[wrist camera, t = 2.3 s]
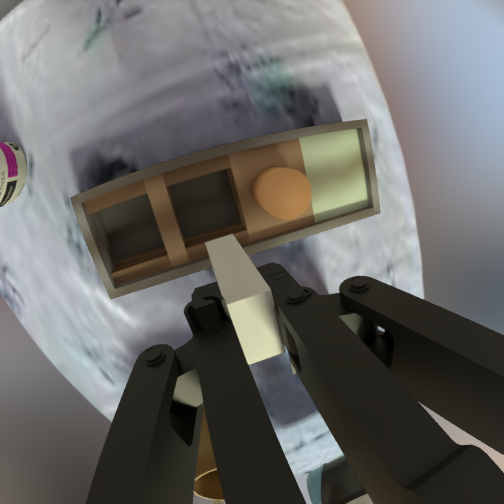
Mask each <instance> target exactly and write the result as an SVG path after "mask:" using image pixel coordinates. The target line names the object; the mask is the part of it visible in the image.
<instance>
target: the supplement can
mask: <svg viewBox="0 0 504 504" xmlns="http://www.w3.org/2000/svg"><path fill="white" fill-rule="evenodd" d="M26 177H27V164H26V160H25V156H24V153H23V152H22V150H21V149H20V147H19V146H17V145H16V144H14V143H13V142H0V207H1V206H4V205H6V204H9V203H12V202H13V201H14V200H15V199H16V198H18V197H19V195H20V193H21V192H22V190H23V188H24V185H25V181H26Z"/></svg>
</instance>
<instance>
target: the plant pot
mask: <svg viewBox="0 0 504 504" xmlns="http://www.w3.org/2000/svg"><path fill="white" fill-rule="evenodd" d="M194 494H196V495H197V496H199V497H202V498H205V499H210V500H223V501H225V500H224V496H223V492H222V488H221V484H220V480H219V476H218V471H217V467H216V463H215V458H214V454H213V449H212V444H211V440H210V435H209V430H208V425H207V420H206V414H205V409H204V408H203V416H202V424H201V432H200V440H199V449H198V457H197V466H196V475H195V485H194Z"/></svg>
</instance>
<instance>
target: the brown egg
mask: <svg viewBox="0 0 504 504" xmlns="http://www.w3.org/2000/svg"><path fill="white" fill-rule="evenodd" d="M252 193H253V197H254V200H255V202H256V203H257V204H258V206H260V207H261V208H262V209H264V210H265V211H267V212H268V213H270V214H271V215H273V216H274V217H276V218H279V219H282V220H290V219H294V218H297V217H298V216H300V215H301V214H303V213H304V212H305V210H306V209H307V208H308V206H309V204H310V201H311V196H312V191H311V185H310V183H309V181H308V179H307V178H306V176H305V175H304V174H302V173H301V172H299V171H298V170H295V169H290V168H283V167H269V168H266V169H264V170H263V171H261V172H260V173H259V174H258V175H257V177H256V178H255V180H254V183H253V188H252Z"/></svg>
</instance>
